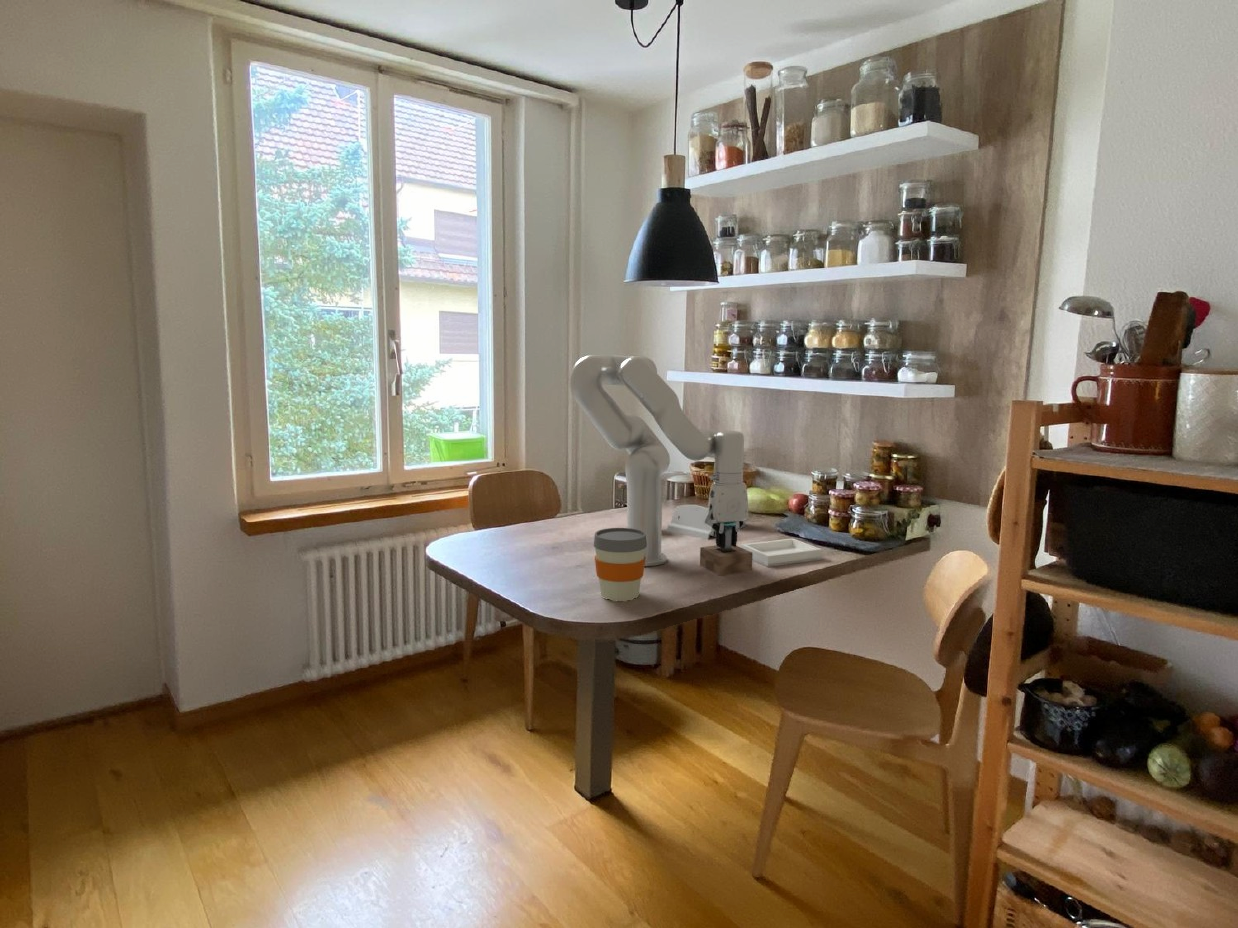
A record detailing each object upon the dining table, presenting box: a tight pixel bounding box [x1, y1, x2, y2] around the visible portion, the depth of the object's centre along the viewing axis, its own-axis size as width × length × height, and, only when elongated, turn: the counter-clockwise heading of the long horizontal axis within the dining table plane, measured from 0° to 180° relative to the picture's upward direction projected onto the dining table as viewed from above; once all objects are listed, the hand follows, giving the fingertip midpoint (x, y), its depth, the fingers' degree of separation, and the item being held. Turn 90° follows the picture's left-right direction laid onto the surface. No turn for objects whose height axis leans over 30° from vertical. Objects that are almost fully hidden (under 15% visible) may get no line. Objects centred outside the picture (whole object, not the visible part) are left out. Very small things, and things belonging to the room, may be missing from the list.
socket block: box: [699, 544, 753, 576], centre depth 199 cm, size 10×10×5 cm
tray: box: [740, 538, 823, 568], centre depth 210 cm, size 18×13×3 cm
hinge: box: [666, 504, 716, 540], centre depth 237 cm, size 17×5×10 cm, turn 48°
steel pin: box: [718, 522, 736, 553], centre depth 199 cm, size 5×5×13 cm
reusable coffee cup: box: [593, 527, 647, 602], centre depth 176 cm, size 13×13×15 cm
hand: (726, 545), depth 199 cm, fingers closed on steel pin, 3 cm apart
